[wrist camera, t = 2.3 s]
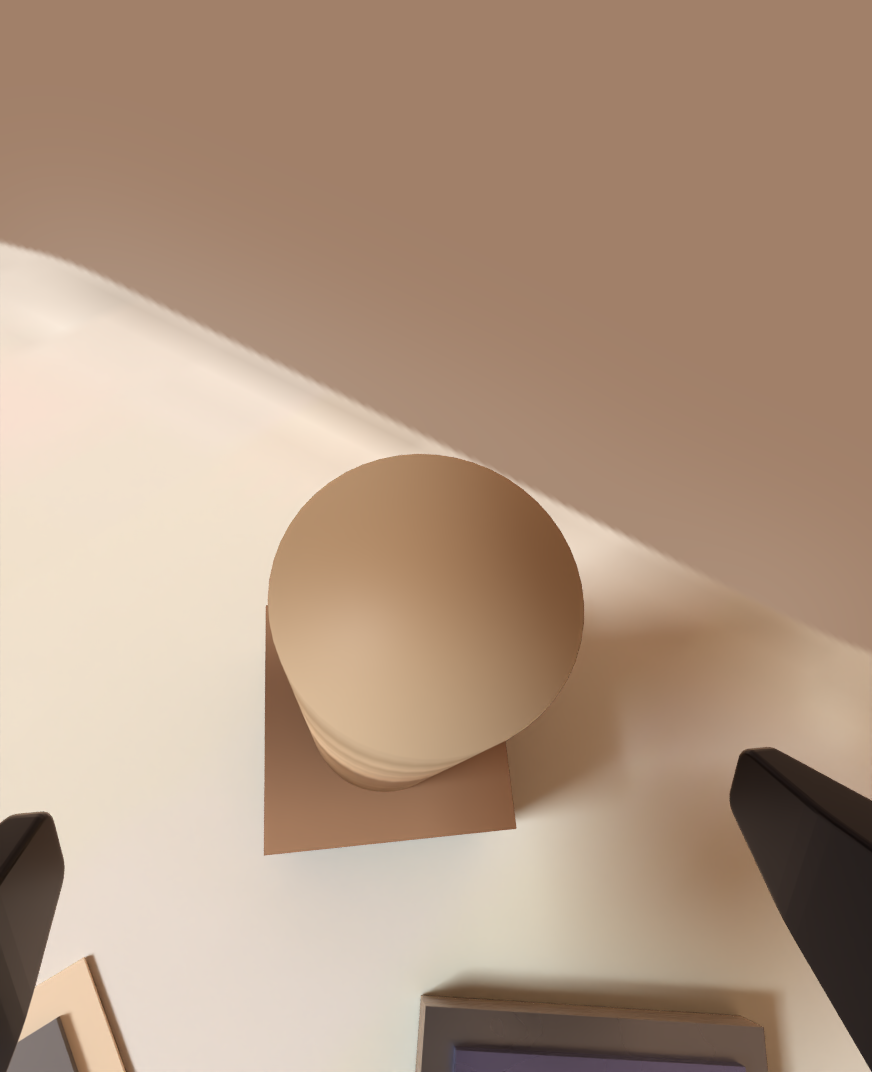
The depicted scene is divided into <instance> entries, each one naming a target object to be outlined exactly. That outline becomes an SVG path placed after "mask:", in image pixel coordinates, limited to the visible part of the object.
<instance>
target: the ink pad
mask: <svg viewBox="0 0 872 1072" xmlns="http://www.w3.org/2000/svg"><path fill="white" fill-rule="evenodd" d="M415 1072H768V1068H767V1058H766V1048H765V1038H764V1028H763V1027H762V1026H760V1025H758V1024H756V1023H754V1022H752V1021H750V1020H748V1019H746V1018H744V1017H742V1016H738V1015H722V1014H707V1013H691V1012H675V1011H660V1010H644V1009H629V1008H613V1007H597V1006H582V1005H566V1004H550V1003H535V1002H519V1001H504V1000H488V999H472V998H457V997H441V996H425V995H421V1003H420V1016H419V1030H418V1044H417V1057H416V1071H415Z"/></svg>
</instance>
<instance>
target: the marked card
mask: <svg viewBox="0 0 872 1072" xmlns="http://www.w3.org/2000/svg"><path fill="white" fill-rule="evenodd" d="M7 1072H126V1071H125V1068H124V1065H123V1062H122V1059H121V1057H120V1054H119V1051H118V1048H117V1045H116V1043H115V1040H114V1037H113V1034H112V1031H111V1029H110V1026H109V1023H108V1020H107V1017H106V1015H105V1012H104V1009H103V1006H102V1003H101V1000H100V998H99V995H98V992H97V989H96V986H95V984H94V981H93V978H92V975H91V972H90V970H89V967H88V964H87V961H86V958H85V957H84V958H82V959H81V960H79V961H77V962H76V963H74V964H72V965H71V966H69V967H67V968H66V969H64V970H63V971H61V972H59V973H58V974H56V975H54V976H53V977H51V978H49V979H48V980H46V981H44V982H43V983H41V984H40V985H38V986H36V987H35V989H34V993H33V996H32V1000H31V1003H30V1007H29V1010H28V1014H27V1017H26V1020H25V1023H24V1026H23V1029H22V1032H21V1035H20V1038H19V1041H18V1043H17V1046H16V1049H15V1052H14V1054H13V1057H12V1060H11V1062H10V1065H9V1068H8V1070H7Z"/></svg>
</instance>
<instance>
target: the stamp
mask: <svg viewBox="0 0 872 1072" xmlns="http://www.w3.org/2000/svg"><path fill="white" fill-rule="evenodd" d="M583 624H584V601H583V592H582V584H581V580H580V576H579V572H578V568H577V565H576V562H575V560H574V557H573V555H572V552H571V550H570V547H569V546H568V544H567V542H566V540H565V538H564V536H563V535H562V533H561V531H560V530H559V528H558V527H557V525H556V524H555V523H554V521H553V520H552V518H551V517H550V516H549V514H548V513H547V512H546V511H545V510H544V509H543V508H542V507H541V506H540V504H539V503H538V502H537V501H536V500H534V499H533V498H532V497H531V496H530V495H529V494H528V493H526V492H525V491H524V490H523V489H522V488H520V487H519V486H517V485H516V484H514V483H513V482H512V481H510V480H509V479H507V478H505V477H503V476H502V475H500V474H498V473H496V472H494V471H492V470H490V469H488V468H485V467H483V466H480V465H478V464H475V463H472V462H469V461H465V460H462V459H458V458H454V457H447V456H441V455H428V454H412V455H399V456H394V457H389V458H384V459H379V460H376V461H373V462H370V463H367V464H364V465H361V466H359V467H357V468H355V469H352V470H350V471H348V472H346V473H344V474H343V475H341V476H339V477H338V478H336V479H334V480H333V481H331V482H330V483H328V484H327V485H326V486H325V487H323V488H322V489H321V490H320V491H318V492H317V493H316V494H315V495H314V496H313V497H312V498H311V499H310V500H309V501H308V502H307V503H306V504H305V505H304V506H303V507H302V508H301V510H300V511H299V512H298V514H297V515H296V517H295V518H294V519H293V521H292V522H291V524H290V525H289V527H288V529H287V531H286V532H285V534H284V536H283V538H282V540H281V542H280V545H279V547H278V550H277V553H276V555H275V558H274V561H273V566H272V570H271V575H270V579H269V591H268V605H266V657H265V790H264V855H272V854H282V853H291V852H301V851H310V850H319V849H329V848H338V847H348V846H357V845H367V844H376V843H386V842H395V841H404V840H414V839H423V838H433V837H442V836H452V835H461V834H471V833H480V832H490V831H499V830H508V829H516V821H515V813H514V806H513V798H512V790H511V782H510V774H509V766H508V758H507V750H506V742H505V741H506V740H508V739H510V738H511V737H513V736H514V735H516V734H517V733H519V732H520V731H522V730H523V729H525V728H526V727H528V726H529V725H530V724H531V723H532V722H533V721H534V720H536V719H537V718H538V717H539V716H540V715H541V714H542V713H543V712H544V711H545V710H546V709H547V708H548V706H549V705H550V704H551V703H552V702H553V700H554V699H555V698H556V697H557V695H558V694H559V692H560V690H561V689H562V687H563V686H564V684H565V683H566V681H567V679H568V677H569V675H570V672H571V670H572V668H573V666H574V663H575V661H576V657H577V654H578V651H579V647H580V644H581V638H582V631H583Z"/></svg>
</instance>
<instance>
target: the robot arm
mask: <svg viewBox="0 0 872 1072" xmlns="http://www.w3.org/2000/svg"><path fill="white" fill-rule="evenodd" d="M730 806H731V809H732V812H733V815H734V817H735V819H736V821H737V823H738V825H739V828H740V830H741V832H742V834H743V836H744V838H745V840H746V842H747V845H748V847H749V849H750V851H751V853H752V855H753V857H754V859H755V862H756V864H757V866H758V868H759V870H760V872H761V874H762V877H763V879H764V881H765V883H766V885H767V887H768V889H769V891H770V894H771V896H772V898H773V900H774V902H775V904H776V906H777V908H778V910H779V912H780V914H781V916H782V918H783V920H784V922H785V923H786V925H787V927H788V929H789V931H790V933H791V934H792V936H793V938H794V940H795V941H796V943H797V945H798V947H799V948H800V950H801V952H802V953H803V955H804V957H805V959H806V960H807V962H808V964H809V965H810V967H811V969H812V971H813V972H814V974H815V976H816V977H817V979H818V981H819V982H820V984H821V986H822V988H823V989H824V991H825V993H826V994H827V996H828V998H829V1000H830V1001H831V1003H832V1005H833V1006H834V1008H835V1010H836V1012H837V1013H838V1015H839V1017H840V1018H841V1020H842V1022H843V1024H844V1025H845V1027H846V1029H847V1030H848V1032H849V1034H850V1036H851V1037H852V1039H853V1041H854V1042H855V1044H856V1046H857V1048H858V1049H859V1051H860V1053H861V1054H862V1056H863V1058H864V1060H865V1061H866V1063H867V1065H868V1066H869V1068H870V1070H871V1072H872V801H871V800H870V799H868V798H866V797H864V796H862V795H860V794H858V793H857V792H855V791H853V790H851V789H849V788H847V787H845V786H844V785H842V784H840V783H838V782H836V781H834V780H832V779H831V778H829V777H827V776H825V775H823V774H821V773H820V772H818V771H816V770H814V769H812V768H810V767H808V766H807V765H805V764H803V763H801V762H799V761H797V760H795V759H794V758H792V757H790V756H788V755H786V754H784V753H783V752H781V751H779V750H777V749H775V748H771V747H763V748H752V749H746V750H744V751H743V752H742V753H741V754H740V756H739V759H738V763H737V766H736V770H735V774H734V778H733V782H732V786H731V790H730ZM63 879H64V859H63V855H62V851H61V847H60V843H59V839H58V835H57V831H56V827H55V824H54V820H53V818H52V816H51V815H50V814H49V813H47V812H32V813H21V814H15V815H11V816H9V817H8V818H6V819H5V820H3V821H2V822H1V823H0V1072H7V1070H8V1068H9V1065H10V1062H11V1060H12V1057H13V1054H14V1052H15V1049H16V1046H17V1043H18V1041H19V1038H20V1035H21V1032H22V1029H23V1026H24V1023H25V1020H26V1017H27V1014H28V1010H29V1007H30V1003H31V1000H32V996H33V993H34V989H35V985H36V981H37V978H38V974H39V970H40V966H41V963H42V959H43V955H44V951H45V948H46V944H47V940H48V936H49V932H50V929H51V925H52V921H53V917H54V914H55V910H56V906H57V902H58V899H59V895H60V891H61V887H62V883H63Z"/></svg>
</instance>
